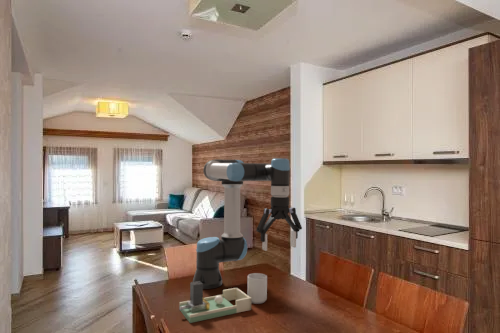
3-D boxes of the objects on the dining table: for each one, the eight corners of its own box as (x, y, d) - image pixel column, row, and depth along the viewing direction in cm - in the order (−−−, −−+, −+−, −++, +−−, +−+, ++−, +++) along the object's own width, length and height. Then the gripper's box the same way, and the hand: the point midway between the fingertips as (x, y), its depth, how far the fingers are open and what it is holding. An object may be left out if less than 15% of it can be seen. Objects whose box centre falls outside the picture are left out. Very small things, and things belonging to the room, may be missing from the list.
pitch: (179, 309, 142) (179, 297, 142) (236, 298, 155) (236, 287, 155) (189, 323, 129) (190, 310, 130) (251, 309, 142) (251, 297, 142)
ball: (213, 303, 144) (213, 295, 144) (220, 301, 145) (221, 293, 145) (216, 306, 140) (216, 297, 140) (224, 305, 142) (224, 296, 142)
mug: (261, 306, 146) (262, 280, 147) (243, 302, 150) (244, 277, 151) (272, 296, 157) (272, 273, 157) (255, 293, 161) (255, 270, 161)
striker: (176, 307, 138) (177, 282, 138) (202, 302, 144) (202, 278, 144) (182, 315, 131) (183, 288, 131) (209, 309, 137) (209, 284, 137)
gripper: (256, 197, 128) (256, 253, 128) (310, 196, 139) (310, 247, 139) (248, 196, 135) (247, 249, 135) (300, 194, 146) (299, 243, 146)
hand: (279, 248), depth 137 cm, fingers open, 13 cm apart
